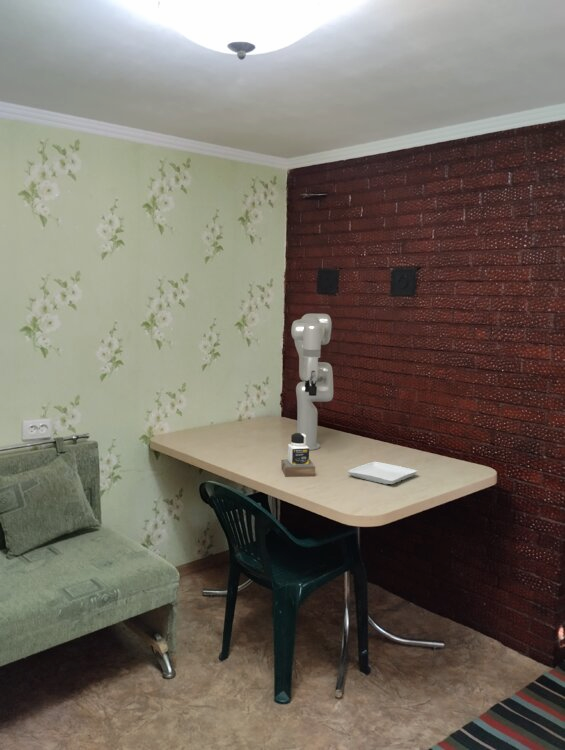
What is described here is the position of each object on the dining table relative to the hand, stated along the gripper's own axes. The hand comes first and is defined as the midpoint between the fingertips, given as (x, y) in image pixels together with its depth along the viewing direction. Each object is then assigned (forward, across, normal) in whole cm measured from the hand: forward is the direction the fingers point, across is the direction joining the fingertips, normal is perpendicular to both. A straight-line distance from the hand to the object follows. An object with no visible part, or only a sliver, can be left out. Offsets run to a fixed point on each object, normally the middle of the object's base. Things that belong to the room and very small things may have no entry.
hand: (310, 393), depth 272 cm
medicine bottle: (+26, +14, -7) cm, 31 cm away
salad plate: (+31, +23, +26) cm, 46 cm away
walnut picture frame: (+30, +14, -7) cm, 34 cm away
